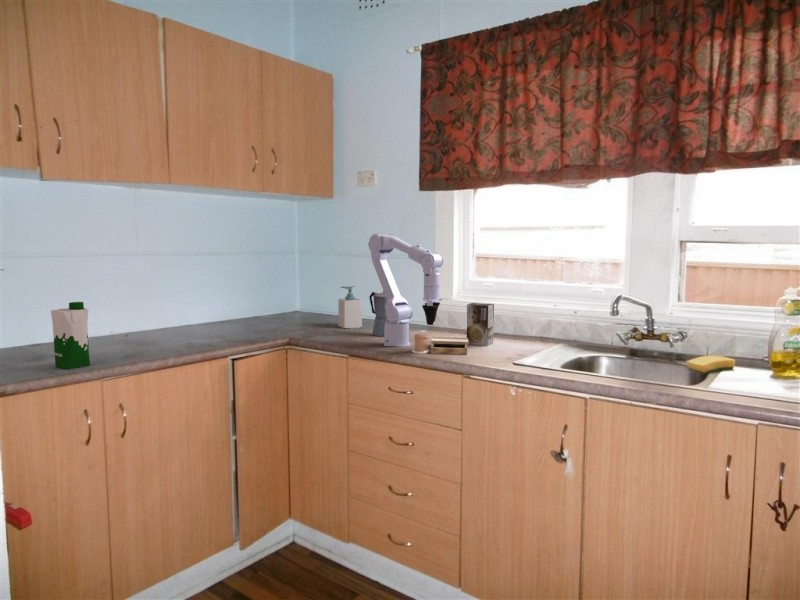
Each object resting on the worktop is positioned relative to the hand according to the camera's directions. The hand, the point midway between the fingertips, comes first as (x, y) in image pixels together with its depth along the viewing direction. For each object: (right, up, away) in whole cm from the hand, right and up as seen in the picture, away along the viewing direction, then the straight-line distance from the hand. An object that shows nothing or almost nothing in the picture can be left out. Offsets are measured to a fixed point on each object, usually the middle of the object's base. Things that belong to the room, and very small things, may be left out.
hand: (431, 323), depth 201 cm
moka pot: (-19, -7, +33) cm, 39 cm away
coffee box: (+20, -9, +13) cm, 26 cm away
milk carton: (-115, -13, -28) cm, 119 cm away
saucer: (-4, -11, -3) cm, 12 cm away
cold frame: (+7, -10, +1) cm, 12 cm away
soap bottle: (-35, -4, +54) cm, 64 cm away
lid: (+7, -7, +5) cm, 11 cm away
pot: (-4, -10, -3) cm, 11 cm away
